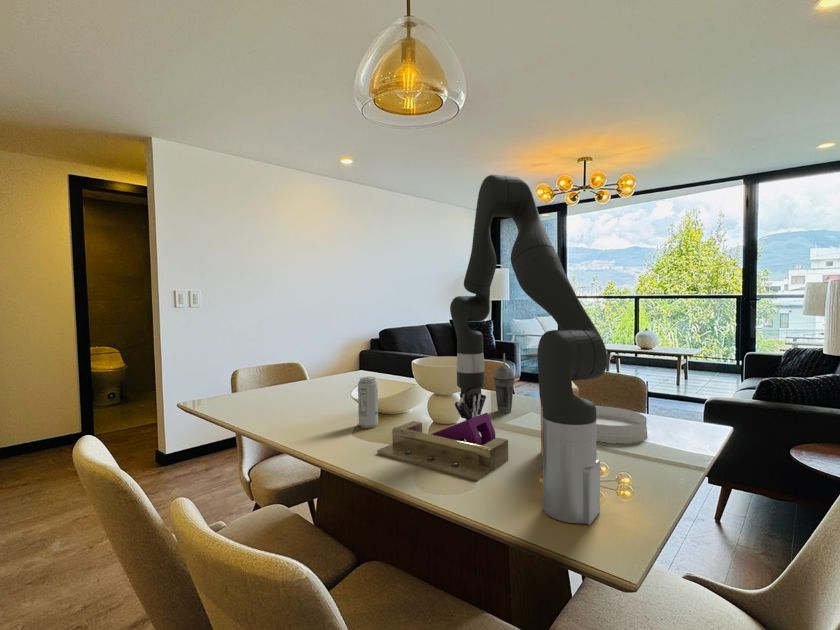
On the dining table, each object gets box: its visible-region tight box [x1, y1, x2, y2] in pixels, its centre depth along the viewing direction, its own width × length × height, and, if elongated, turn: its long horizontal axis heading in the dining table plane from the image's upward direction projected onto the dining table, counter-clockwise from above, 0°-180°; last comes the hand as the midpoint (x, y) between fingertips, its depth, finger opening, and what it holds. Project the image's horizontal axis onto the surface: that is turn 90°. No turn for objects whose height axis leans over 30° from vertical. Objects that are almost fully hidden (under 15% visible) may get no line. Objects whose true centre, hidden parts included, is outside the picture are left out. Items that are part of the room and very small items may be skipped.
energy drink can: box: [357, 376, 379, 429], centre depth 137 cm, size 6×6×15 cm
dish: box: [595, 405, 648, 444], centre depth 128 cm, size 22×22×5 cm
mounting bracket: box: [430, 412, 496, 445], centre depth 116 cm, size 9×8×18 cm
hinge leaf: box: [376, 420, 509, 482], centre depth 109 cm, size 29×15×5 cm, turn 53°
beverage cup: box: [493, 352, 515, 414], centre depth 152 cm, size 7×7×20 cm
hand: (471, 432), depth 121 cm, fingers closed
